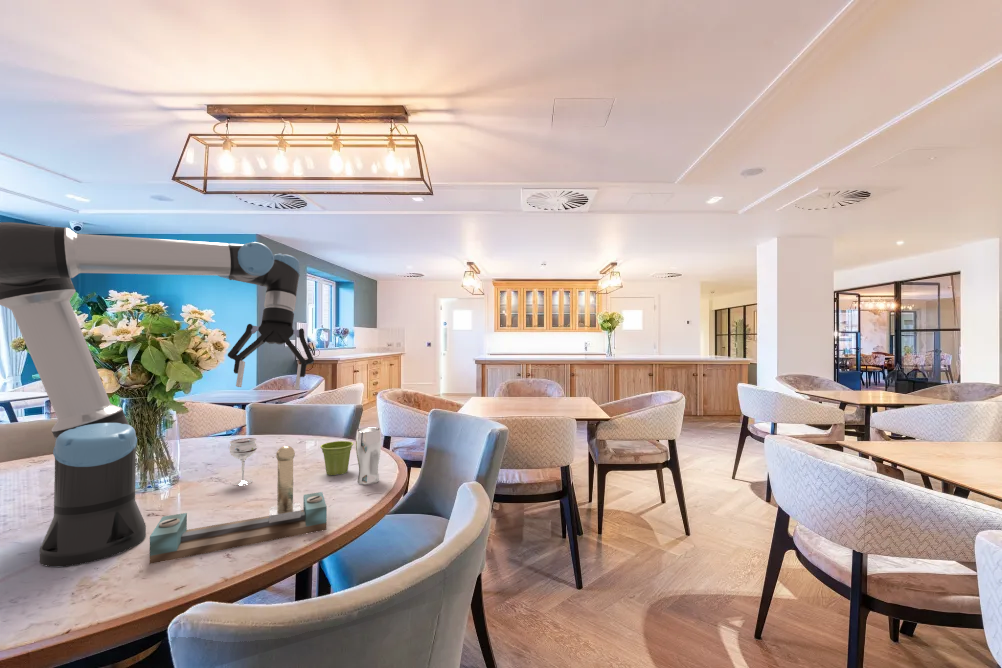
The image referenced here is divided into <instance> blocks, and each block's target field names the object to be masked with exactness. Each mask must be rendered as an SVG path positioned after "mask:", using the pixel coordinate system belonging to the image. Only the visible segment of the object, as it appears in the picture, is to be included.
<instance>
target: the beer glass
mask: <svg viewBox="0 0 1002 668" xmlns="http://www.w3.org/2000/svg"><path fill="white" fill-rule="evenodd" d="M355 438H356V439H355V451H356V452H355V453H356V458H357V465H358V477H357V484H358V483H359V485H360V484H363V485H362V486H368V485H367V484H371V485H375V484H378V483H379V482H380V474H379V462H380V457H381V456H380V455H381V451H382V433H381V428H380V427H376V426H375V427H373V426H371V427H362V428H358V429H357V430H356V436H355Z"/></svg>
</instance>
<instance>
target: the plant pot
mask: <svg viewBox="0 0 1002 668" xmlns="http://www.w3.org/2000/svg"><path fill="white" fill-rule="evenodd" d="M353 446H354V442H352V441H349V440H337V441H336V440H335V441H330V442H326V443H323V444H321V445H320V449H321V451H322V452H321V453H323V459H324V465H325V466H324V467H325V472H326V475H328V476H332V475H334V476H336V475H341V474H342V475H344V474H346V473H348V471H349V464H350V456H351V450H352V447H353Z"/></svg>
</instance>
